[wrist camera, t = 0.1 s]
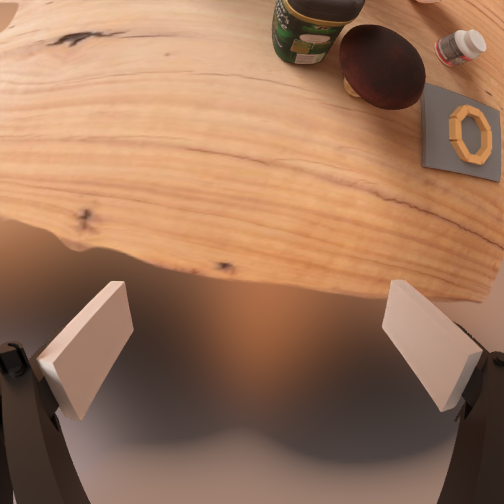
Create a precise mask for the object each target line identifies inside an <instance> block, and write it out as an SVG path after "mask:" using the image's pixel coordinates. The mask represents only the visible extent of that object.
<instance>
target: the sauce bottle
mask: <svg viewBox="0 0 504 504" xmlns="http://www.w3.org/2000/svg"><path fill="white" fill-rule="evenodd" d="M416 1H418V2H421V3H435V2H439V1H441V0H416Z"/></svg>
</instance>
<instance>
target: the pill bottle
mask: <svg viewBox="0 0 504 504" xmlns="http://www.w3.org/2000/svg"><path fill="white" fill-rule="evenodd" d="M434 48H435V52H436V55H437V56H438V58H439V59H440V60H441V61H442V62H443V63H444V64H445V65H447V66H450V67H452V66H456V65H459V64H462V63H465V62H468V61H471V60H474V59H476V58H478V56H479V53H482V52H485V51H486V43H485V41H484V39H483V37H482V36H481V35H480V34H479V33H478V32H477V31H476V30H473V29H471V30H468V31H465V30H458V31H456V32H454V33H452V34H450V35H448V36H446V37H443V38H442V39H440V40H438V41H437V42H436V43H435V46H434Z"/></svg>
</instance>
